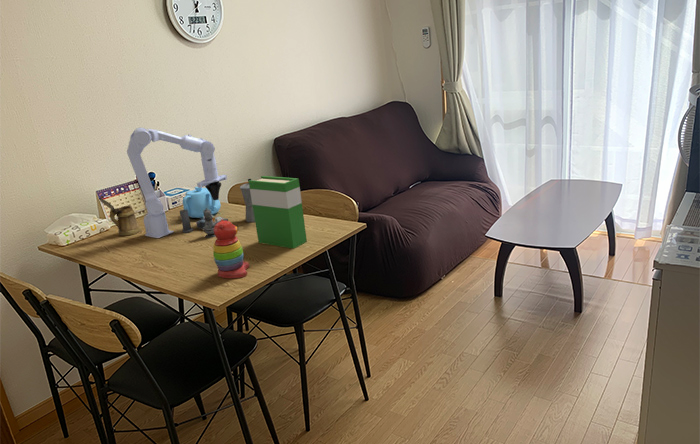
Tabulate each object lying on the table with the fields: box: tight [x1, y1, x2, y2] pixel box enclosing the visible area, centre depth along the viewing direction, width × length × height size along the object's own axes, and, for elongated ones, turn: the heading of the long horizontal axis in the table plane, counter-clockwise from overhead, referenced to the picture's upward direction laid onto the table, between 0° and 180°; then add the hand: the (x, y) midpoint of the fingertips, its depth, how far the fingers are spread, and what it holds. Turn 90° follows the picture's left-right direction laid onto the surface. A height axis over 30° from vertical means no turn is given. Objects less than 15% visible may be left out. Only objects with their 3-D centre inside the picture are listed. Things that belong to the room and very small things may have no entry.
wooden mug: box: [99, 197, 142, 237], centre depth 220 cm, size 9×14×18 cm, turn 139°
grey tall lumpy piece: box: [202, 207, 216, 239], centre depth 207 cm, size 6×6×12 cm
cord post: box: [179, 209, 194, 234], centre depth 217 cm, size 4×4×9 cm
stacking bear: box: [213, 219, 250, 279], centre depth 167 cm, size 11×10×18 cm
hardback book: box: [248, 175, 308, 250], centre depth 190 cm, size 18×7×24 cm, turn 55°
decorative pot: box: [182, 186, 222, 220], centre depth 237 cm, size 16×16×14 cm
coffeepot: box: [239, 178, 255, 223], centre depth 221 cm, size 15×9×18 cm, turn 37°
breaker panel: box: [196, 215, 229, 230], centre depth 219 cm, size 11×8×4 cm
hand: (215, 199), depth 224 cm, fingers closed
